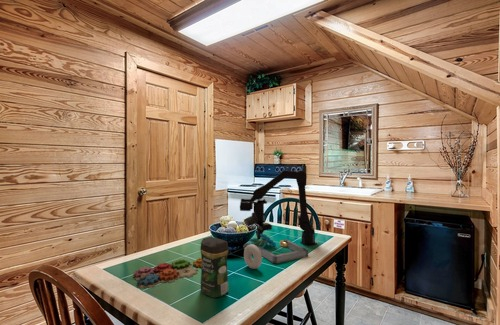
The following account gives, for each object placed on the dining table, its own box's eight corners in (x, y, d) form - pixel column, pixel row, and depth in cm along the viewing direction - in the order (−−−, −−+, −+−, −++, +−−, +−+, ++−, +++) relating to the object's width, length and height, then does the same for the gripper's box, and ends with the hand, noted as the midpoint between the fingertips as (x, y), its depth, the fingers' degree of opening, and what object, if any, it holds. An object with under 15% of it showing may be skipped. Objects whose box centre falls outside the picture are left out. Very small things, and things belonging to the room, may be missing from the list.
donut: (263, 270, 108) (263, 246, 107) (257, 273, 105) (257, 248, 105) (248, 263, 115) (248, 240, 115) (242, 265, 113) (242, 242, 113)
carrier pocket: (288, 246, 137) (288, 240, 137) (308, 256, 124) (308, 249, 124) (256, 252, 128) (256, 246, 128) (274, 263, 115) (274, 257, 115)
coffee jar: (196, 291, 91) (196, 238, 91) (214, 283, 97) (213, 233, 97) (214, 301, 85) (214, 244, 84) (232, 292, 90) (232, 238, 90)
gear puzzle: (204, 258, 122) (204, 249, 122) (219, 270, 109) (219, 261, 109) (132, 275, 105) (131, 265, 105) (140, 292, 92) (139, 280, 92)
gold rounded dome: (286, 243, 143) (286, 237, 143) (293, 246, 138) (293, 240, 138) (277, 244, 140) (277, 239, 140) (284, 248, 135) (284, 242, 135)
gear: (280, 245, 134) (267, 233, 131) (273, 255, 131) (260, 243, 129) (269, 242, 144) (257, 231, 141) (263, 251, 141) (250, 240, 139)
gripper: (238, 209, 150) (238, 236, 151) (254, 216, 134) (254, 246, 134) (255, 208, 156) (255, 234, 156) (272, 213, 139) (272, 243, 139)
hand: (258, 239), depth 146 cm, fingers closed
